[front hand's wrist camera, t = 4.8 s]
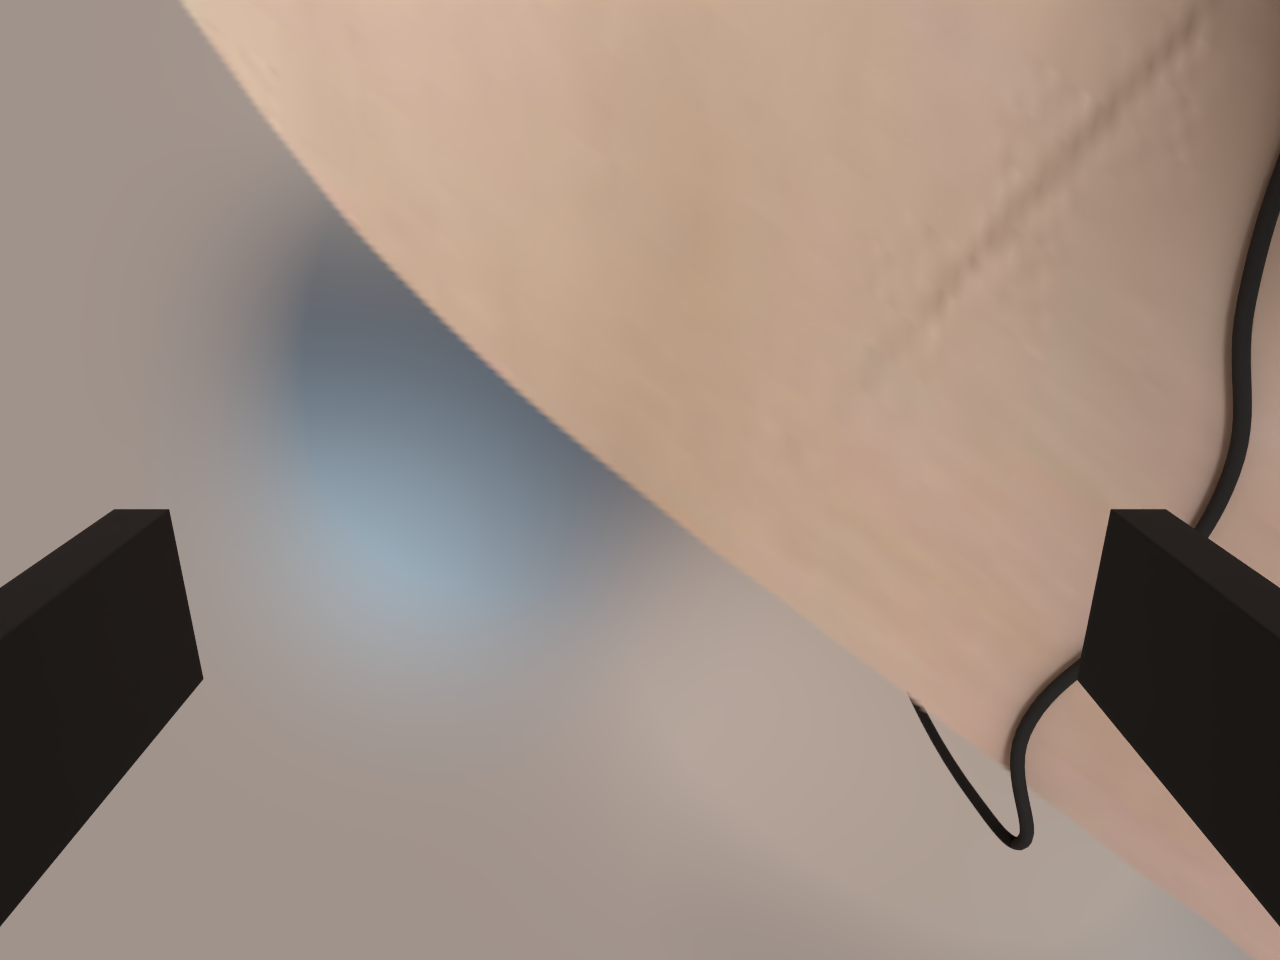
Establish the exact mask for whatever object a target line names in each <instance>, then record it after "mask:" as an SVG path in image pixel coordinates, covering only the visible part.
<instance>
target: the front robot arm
mask: <svg viewBox="0 0 1280 960" xmlns="http://www.w3.org/2000/svg"><path fill="white" fill-rule="evenodd" d="M1279 212H1280V155H1279V157H1278V160H1277V163H1276V165H1275V168H1274V171H1273V174H1272V176H1271V179H1270V182H1269V185H1268V188H1267V191H1266V194H1265V197H1264V200H1263V203H1262V206H1261V209H1260V212H1259V215H1258V218H1257V222H1256V225H1255V229H1254V232H1253V236H1252V239H1251V243H1250V247H1249V251H1248V255H1247V259H1246V263H1245V267H1244V271H1243V276H1242V280H1241V285H1240V290H1239V294H1238V299H1237V305H1236V311H1235V317H1234V325H1233V335H1232V382H1233V425H1232V435H1231V441H1230V447H1229V451H1228V455H1227V459H1226V462H1225V465H1224V468H1223V472H1222V474H1221V477H1220V479H1219V482H1218V484H1217V487H1216V489H1215V491H1214V494H1213V496H1212V498H1211V500H1210V502H1209V504H1208V506H1207V508H1206V510H1205V512H1204V514H1203V515H1202V517H1201V519H1200V521H1199V522H1198V524H1197V525H1196V527H1195V529H1194V528H1192V527H1191V526H1189V525H1188V524H1186V523H1185V522H1183V521H1182V520H1181V519H1179V518H1178V517H1176V516H1175V515H1173V514H1172V513H1170V512H1169V511H1167V510H1166V509H1111V511H1110V516H1109V521H1108V526H1107V531H1106V536H1105V541H1104V546H1103V551H1102V556H1101V561H1100V566H1099V571H1098V576H1097V581H1096V586H1095V590H1094V595H1093V600H1092V605H1091V610H1090V615H1089V620H1088V625H1087V630H1086V635H1085V640H1084V645H1083V650H1082V655H1081V658H1080V659H1079V660H1078V661H1076V662H1075V663H1074V664H1073V665H1071V666H1070V667H1069V668H1068V669H1067V670H1065V671H1064V672H1063V673H1062V674H1061V675H1059V676H1058V677H1057V678H1056V679H1055V680H1054V681H1053V682H1052V683H1051V684H1050V685H1048V687H1047V688H1046V689H1045V690H1044V691H1043V692H1042V693H1041V694H1040V695H1039V696H1038V697H1037V699H1036V700H1035V701H1034V702H1033V703H1032V705H1031V706H1030V707H1029V709H1028V711H1027V712H1026V714H1025V715H1024V717H1023V718H1022V720H1021V722H1020V724H1019V726H1018V728H1017V730H1016V733H1015V736H1014V739H1013V742H1012V748H1011V756H1010V770H1011V781H1012V788H1013V793H1014V798H1015V803H1016V808H1017V813H1018V817H1019V824H1020V833H1019V835H1018V837H1015V836H1014V835H1012V834H1011V833H1010V832H1008V831H1007V830H1006V829H1005V828H1004V827H1003V825H1002V824H1001V823H1000V822H999V821H998V819H997V818H996V817H995V815H994V814H993V813H992V812H991V810H990V809H989V808H988V806H987V805H986V804H985V802H984V801H983V800H982V798H981V797H980V796H979V794H978V793H977V791H976V790H975V789H974V787H973V786H972V785H971V783H970V782H969V781H968V779H967V778H966V776H965V775H964V773H963V772H962V770H961V769H960V767H959V766H958V764H957V763H956V761H955V760H954V758H953V757H952V755H951V753H950V752H949V750H948V749H947V747H946V745H945V744H944V742H943V740H942V739H941V737H940V735H939V734H938V732H937V730H936V728H935V726H934V724H933V723H932V721H931V719H930V717H929V715H928V713H927V711H926V710H925V709H924V708H923V707H922V706H920V705H919V704H917V703H916V701H915V700H913V699H912V698H910V697H909V699H910V701H911V703H912V705H913V707H914V709H915V711H916V713H917V715H918V717H919V719H920V721H921V723H922V725H923V727H924V728H925V730H926V732H927V734H928V736H929V738H930V740H931V741H932V743H933V745H934V746H935V748H936V750H937V752H938V753H939V755H940V757H941V759H942V760H943V762H944V763H945V765H946V767H947V768H948V770H949V771H950V773H951V774H952V776H953V777H954V779H955V781H956V782H957V784H958V785H959V786H960V788H961V789H962V791H963V792H964V793H965V795H966V796H967V798H968V799H969V800H970V802H971V803H972V805H973V806H974V807H975V809H976V810H977V812H978V813H979V814H980V816H981V817H982V818H983V820H984V821H985V822H986V824H987V825H988V826H989V828H990V829H991V830H992V831H993V832H994V834H995V835H996V836H997V837H998V838H999V839H1000V840H1001V841H1002V842H1003V843H1004V844H1005V845H1006V846H1008V847H1010V848H1012V849H1015V850H1023V849H1025V848H1027V847H1028V846H1029V845H1030V844H1031V843H1032V839H1033V835H1034V824H1033V817H1032V812H1031V807H1030V802H1029V797H1028V792H1027V786H1026V779H1025V753H1026V748H1027V744H1028V741H1029V738H1030V735H1031V733H1032V731H1033V729H1034V728H1035V726H1036V724H1037V722H1038V721H1039V719H1040V718H1041V716H1042V715H1043V713H1044V712H1045V711H1046V710H1047V708H1048V707H1049V706H1050V705H1051V703H1052V702H1053V701H1054V700H1055V699H1056V698H1057V697H1058V696H1059V695H1060V694H1061V693H1062V692H1064V691H1065V690H1066V689H1067V688H1068V687H1069V686H1070V685H1071V684H1073V683H1074V682H1075V681H1076V680H1078V681H1079V682H1080V684H1081V685H1082V686H1083V687H1084V689H1085V690H1086V691H1087V692H1088V693H1089V695H1090V696H1091V697H1092V698H1093V700H1094V701H1095V702H1096V703H1097V704H1098V706H1099V707H1100V708H1101V709H1102V710H1103V712H1104V713H1105V714H1106V715H1107V717H1108V718H1109V719H1110V720H1111V721H1112V723H1113V724H1114V725H1115V726H1116V728H1117V729H1118V730H1119V731H1120V732H1121V734H1122V735H1123V736H1124V737H1125V738H1126V740H1127V741H1128V742H1129V743H1130V745H1131V746H1132V747H1133V748H1134V749H1135V751H1136V752H1137V753H1138V754H1139V756H1140V757H1141V758H1142V759H1143V760H1144V762H1145V763H1146V764H1147V765H1148V767H1149V768H1150V769H1151V770H1152V771H1153V773H1154V774H1155V775H1156V776H1157V777H1158V779H1159V780H1160V781H1161V782H1162V784H1163V785H1164V786H1165V787H1166V788H1167V790H1168V791H1169V792H1170V793H1171V795H1172V796H1173V797H1174V798H1175V799H1176V801H1177V802H1178V803H1179V804H1180V806H1181V807H1182V808H1183V809H1184V810H1185V812H1186V813H1187V814H1188V815H1189V816H1190V818H1191V819H1192V820H1193V821H1194V823H1195V824H1196V825H1197V826H1198V827H1199V829H1200V830H1201V831H1202V832H1203V834H1204V835H1205V836H1206V837H1207V838H1208V840H1209V841H1210V842H1211V843H1212V844H1213V846H1214V847H1215V848H1216V849H1217V851H1218V852H1219V853H1220V854H1221V855H1222V857H1223V858H1224V859H1225V860H1226V862H1227V863H1228V864H1229V865H1230V866H1231V868H1232V869H1233V870H1234V871H1235V873H1236V874H1237V875H1238V876H1239V877H1240V879H1241V880H1242V881H1243V882H1244V883H1245V885H1246V886H1247V887H1248V888H1249V890H1250V891H1251V892H1252V893H1253V894H1254V896H1255V897H1256V898H1257V899H1258V901H1259V902H1260V903H1261V904H1262V905H1263V907H1264V908H1265V909H1266V910H1267V912H1268V913H1269V914H1270V915H1271V916H1272V918H1273V919H1274V920H1275V921H1276V922H1277V924H1278V925H1279V926H1280V588H1279V587H1278V586H1276V585H1275V584H1273V583H1272V582H1271V581H1269V580H1268V579H1266V578H1265V577H1263V576H1262V575H1260V574H1259V573H1257V572H1256V571H1255V570H1253V569H1252V568H1250V567H1249V566H1247V565H1246V564H1244V563H1243V562H1241V561H1240V560H1239V559H1237V558H1236V557H1234V556H1233V555H1231V554H1230V553H1228V552H1227V551H1226V550H1224V549H1223V548H1221V547H1220V546H1218V545H1217V544H1215V543H1214V542H1212V541H1211V540H1210V539H1208V537H1209V535H1210V534H1211V532H1212V531H1213V529H1214V528H1215V526H1216V524H1217V522H1218V521H1219V519H1220V517H1221V515H1222V513H1223V512H1224V510H1225V508H1226V506H1227V504H1228V502H1229V499H1230V497H1231V495H1232V493H1233V491H1234V488H1235V486H1236V483H1237V481H1238V478H1239V476H1240V473H1241V469H1242V466H1243V463H1244V460H1245V456H1246V452H1247V448H1248V443H1249V436H1250V429H1251V417H1252V387H1251V335H1252V325H1253V317H1254V311H1255V306H1256V300H1257V296H1258V291H1259V286H1260V282H1261V278H1262V273H1263V269H1264V265H1265V261H1266V257H1267V253H1268V249H1269V246H1270V242H1271V238H1272V235H1273V232H1274V228H1275V225H1276V221H1277V218H1278V215H1279ZM202 680H203V675H202V670H201V665H200V660H199V655H198V650H197V645H196V640H195V635H194V630H193V625H192V620H191V615H190V610H189V606H188V600H187V595H186V590H185V586H184V581H183V576H182V571H181V566H180V561H179V556H178V551H177V546H176V541H175V536H174V531H173V526H172V521H171V516H170V511H169V509H114V510H113V511H111V512H110V513H108V514H107V515H105V516H104V517H102V518H101V519H99V520H98V521H97V522H95V523H94V524H92V525H91V526H89V527H88V528H86V529H85V530H83V531H82V532H81V533H79V534H78V535H76V536H75V537H73V538H72V539H70V540H69V541H68V542H66V543H65V544H63V545H62V546H60V547H59V548H57V549H56V550H55V551H53V552H52V553H50V554H49V555H47V556H46V557H44V558H43V559H41V560H40V561H39V562H37V563H36V564H34V565H33V566H31V567H30V568H28V569H27V570H25V571H24V572H23V573H21V574H20V575H18V576H17V577H15V578H14V579H12V580H11V581H9V582H8V583H7V584H5V585H4V586H2V587H1V588H0V926H1V925H2V924H3V922H4V921H5V920H6V919H7V918H8V916H9V915H10V914H11V913H12V911H13V910H14V909H15V908H16V907H17V905H18V904H19V903H20V902H21V900H22V899H23V898H24V897H25V896H26V894H27V893H28V892H29V891H30V890H31V888H32V887H33V886H34V885H35V883H36V882H37V881H38V880H39V879H40V877H41V876H42V875H43V874H44V873H45V871H46V870H47V869H48V868H49V866H50V865H51V864H52V863H53V862H54V860H55V859H56V858H57V857H58V855H59V854H60V853H61V852H62V851H63V849H64V848H65V847H66V846H67V844H68V843H69V842H70V841H71V840H72V838H73V837H74V836H75V835H76V834H77V832H78V831H79V830H80V829H81V827H82V826H83V825H84V824H85V822H86V821H87V820H88V819H89V818H90V816H91V815H92V814H93V813H94V812H95V810H96V809H97V808H98V807H99V806H100V804H101V803H102V802H103V801H104V799H105V798H106V797H107V796H108V794H109V793H110V792H111V791H112V790H113V788H114V787H115V786H116V785H117V784H118V782H119V781H120V780H121V779H122V777H123V776H124V775H125V774H126V773H127V771H128V770H129V769H130V768H131V767H132V765H133V764H134V763H135V762H136V760H137V759H138V758H139V757H140V755H141V754H142V753H143V752H144V751H145V749H146V748H147V747H148V746H149V745H150V743H151V742H152V741H153V740H154V738H155V737H156V736H157V735H158V734H159V732H160V731H161V730H162V729H163V727H164V726H165V725H166V724H167V723H168V721H169V720H170V719H171V718H172V717H173V715H174V714H175V713H176V712H177V710H178V709H179V708H180V707H181V706H182V704H183V703H184V702H185V701H186V699H187V698H188V697H189V696H190V695H191V693H192V692H193V691H194V690H195V688H196V687H197V686H198V685H199V684H200V682H201V681H202Z"/></svg>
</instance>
